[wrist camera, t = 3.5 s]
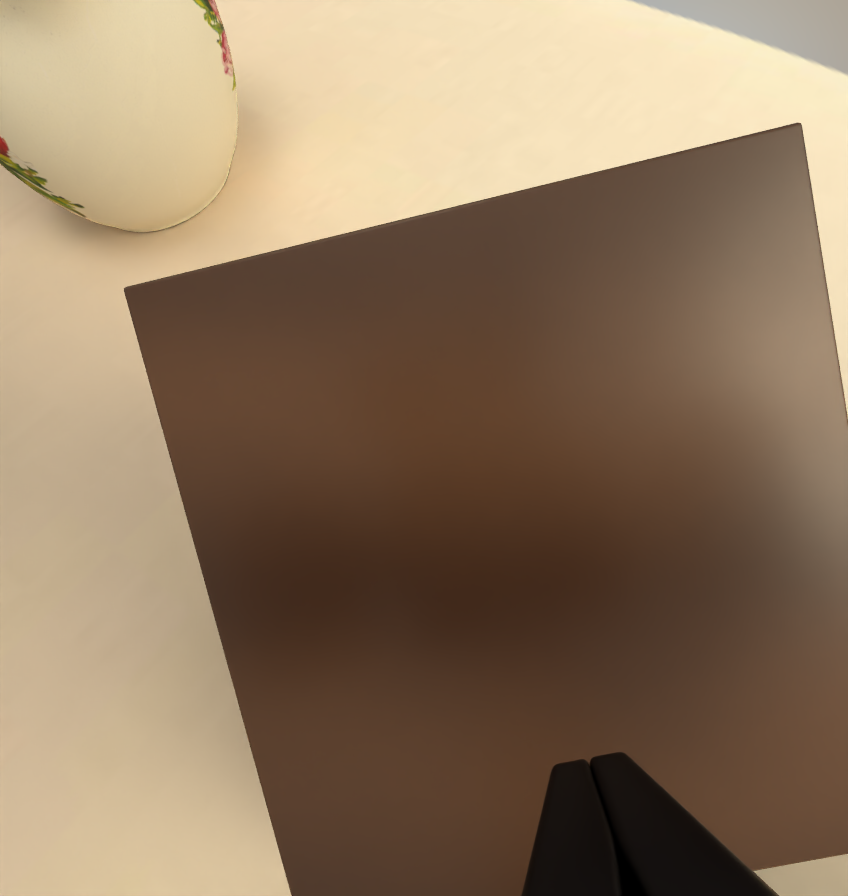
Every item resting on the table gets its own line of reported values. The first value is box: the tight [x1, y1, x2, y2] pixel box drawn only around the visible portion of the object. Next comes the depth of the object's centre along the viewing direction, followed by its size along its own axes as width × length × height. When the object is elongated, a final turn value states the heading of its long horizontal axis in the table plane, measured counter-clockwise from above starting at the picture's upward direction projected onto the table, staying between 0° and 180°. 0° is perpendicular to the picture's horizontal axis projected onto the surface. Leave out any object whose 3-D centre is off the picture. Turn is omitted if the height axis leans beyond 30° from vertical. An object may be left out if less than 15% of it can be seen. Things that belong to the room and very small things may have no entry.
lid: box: [124, 123, 848, 896], centre depth 13 cm, size 12×11×1 cm
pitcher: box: [0, 0, 238, 232], centre depth 29 cm, size 11×18×14 cm, turn 37°
